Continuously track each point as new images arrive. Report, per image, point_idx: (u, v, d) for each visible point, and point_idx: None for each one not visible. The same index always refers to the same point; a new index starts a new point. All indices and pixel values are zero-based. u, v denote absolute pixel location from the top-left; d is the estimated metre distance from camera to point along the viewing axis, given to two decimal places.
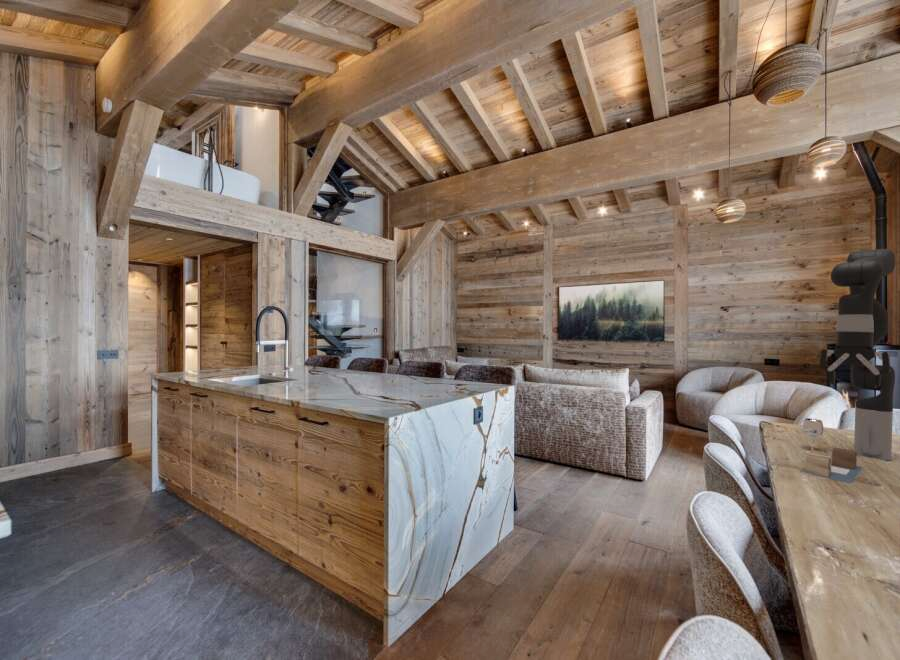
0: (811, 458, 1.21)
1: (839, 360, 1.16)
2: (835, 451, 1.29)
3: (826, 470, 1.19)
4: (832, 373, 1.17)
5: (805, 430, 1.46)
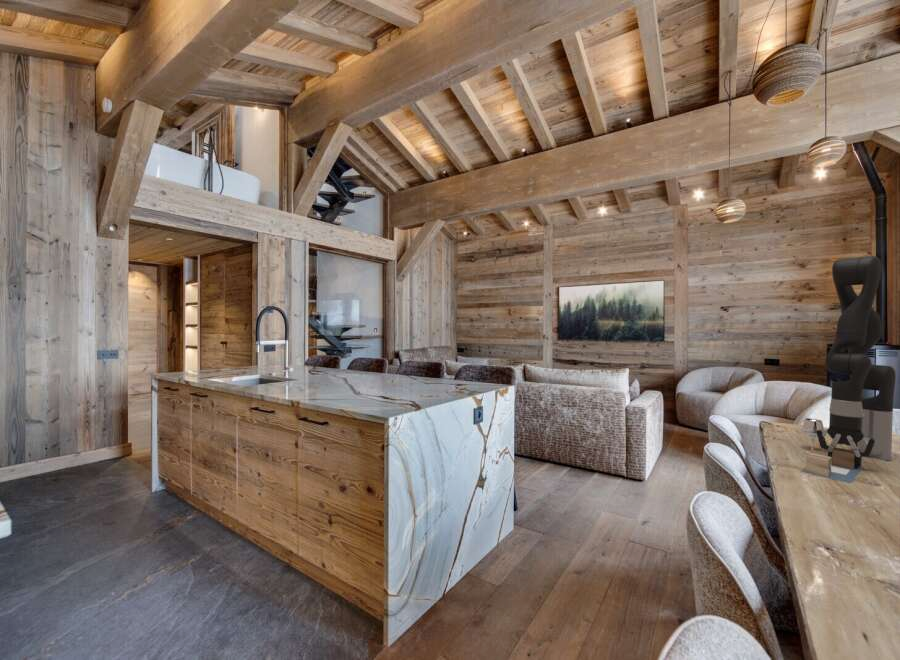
0: (811, 458, 1.21)
1: (834, 441, 1.29)
2: (835, 451, 1.29)
3: (826, 470, 1.19)
4: None
5: (805, 430, 1.46)
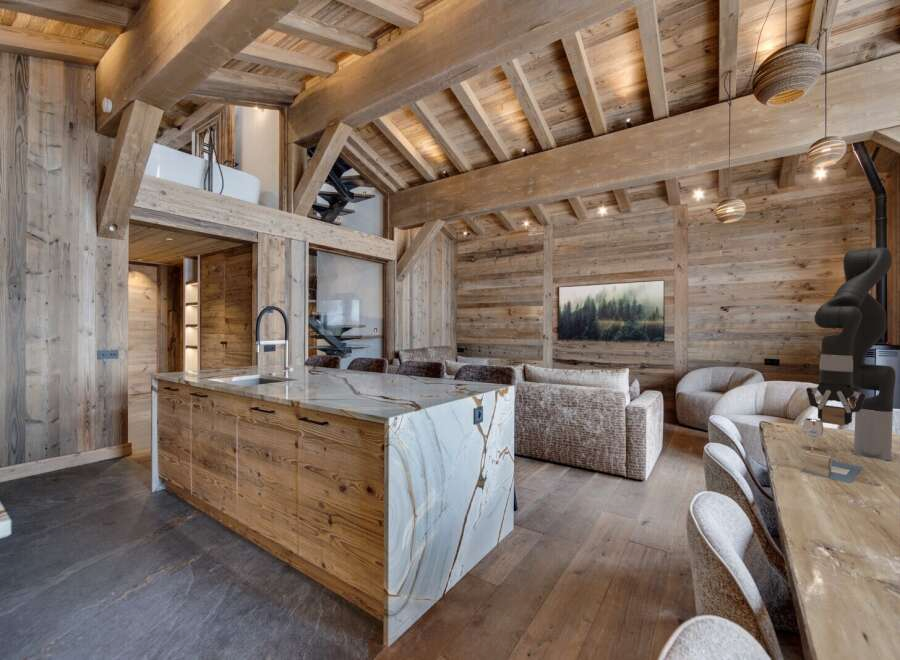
0: (811, 458, 1.21)
1: (824, 397, 1.26)
2: (825, 408, 1.25)
3: (826, 470, 1.19)
4: None
5: (805, 430, 1.46)
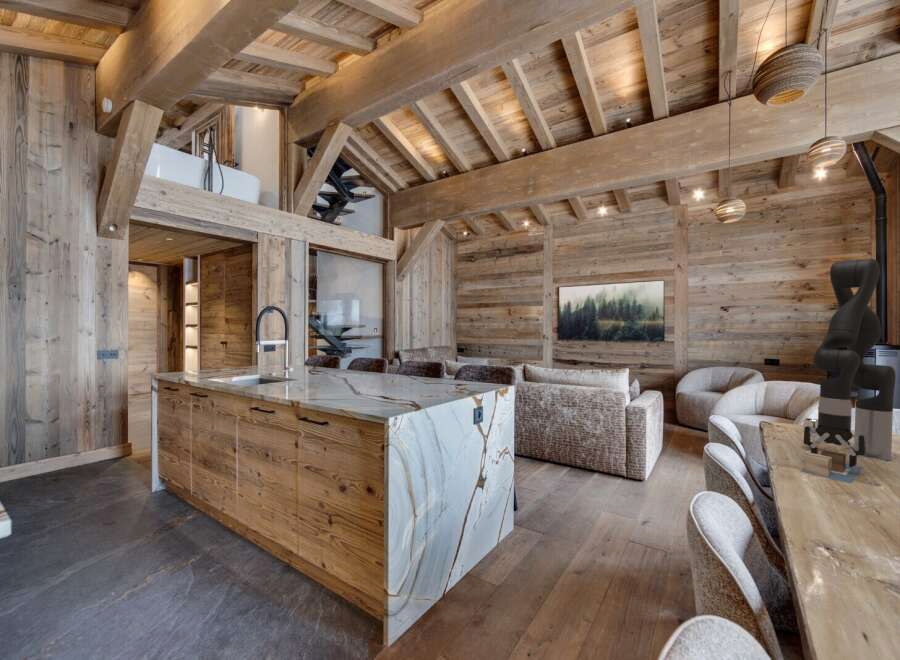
0: (811, 458, 1.21)
1: (820, 438, 1.26)
2: (824, 454, 1.25)
3: (826, 470, 1.19)
4: (815, 450, 1.28)
5: None
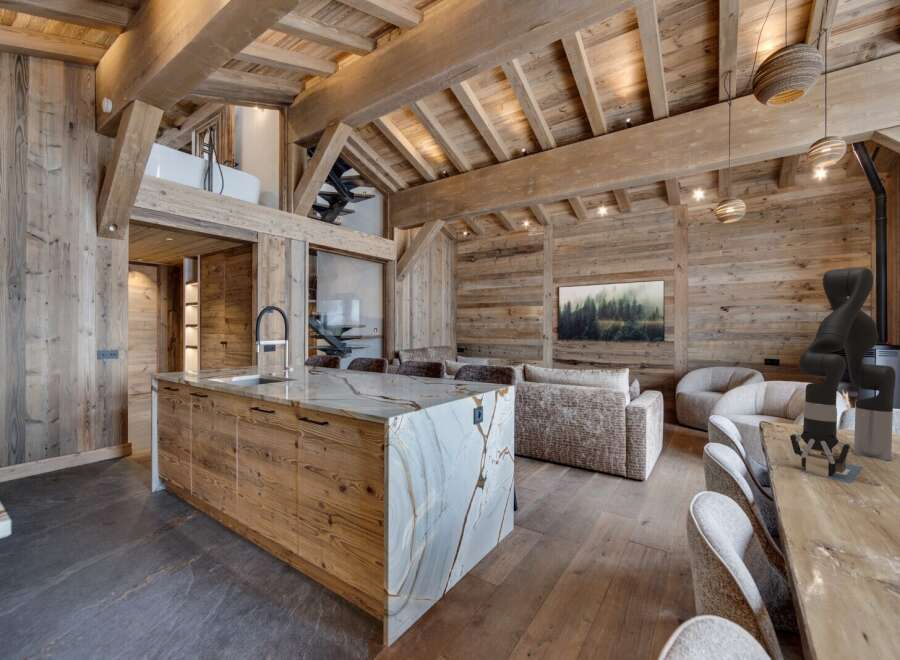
0: (811, 458, 1.21)
1: (808, 446, 1.22)
2: (824, 454, 1.25)
3: (826, 470, 1.19)
4: None
5: None
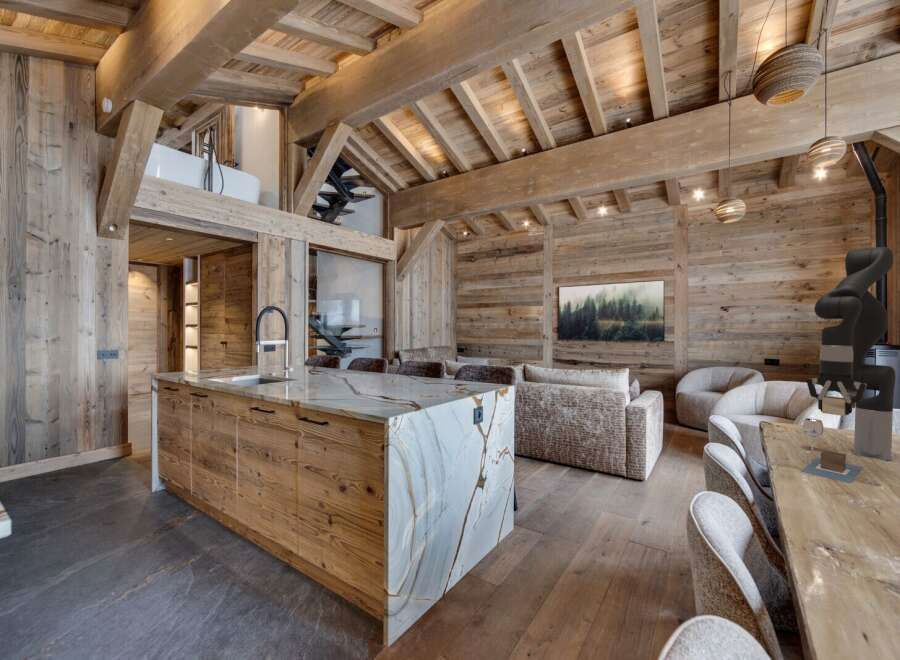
0: (827, 399, 1.24)
1: (824, 388, 1.25)
2: (824, 454, 1.25)
3: (843, 409, 1.22)
4: None
5: (805, 430, 1.46)
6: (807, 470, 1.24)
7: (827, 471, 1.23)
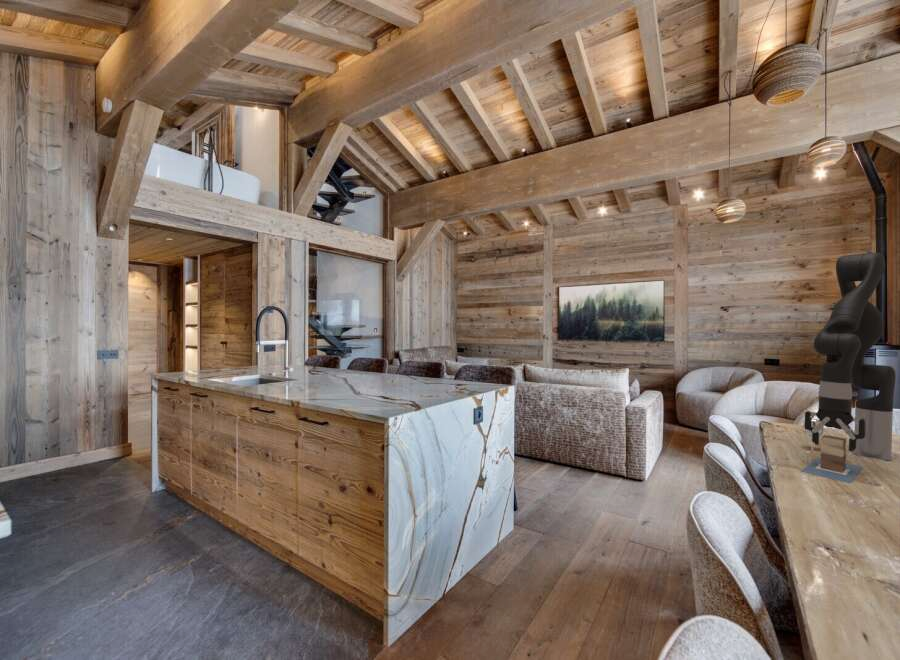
0: (826, 439, 1.24)
1: (821, 423, 1.26)
2: (824, 454, 1.25)
3: (841, 450, 1.22)
4: (816, 435, 1.27)
5: (805, 430, 1.46)
6: (807, 470, 1.24)
7: (827, 471, 1.23)
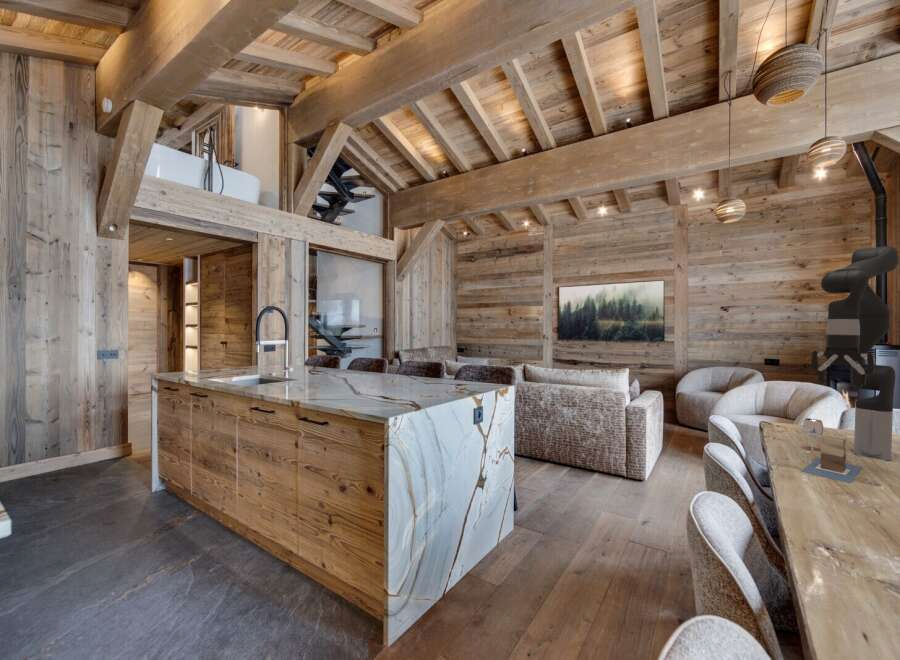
0: (826, 439, 1.24)
1: (828, 361, 1.26)
2: (824, 454, 1.25)
3: (841, 450, 1.22)
4: (822, 373, 1.28)
5: (805, 430, 1.46)
6: (807, 470, 1.24)
7: (827, 471, 1.23)
